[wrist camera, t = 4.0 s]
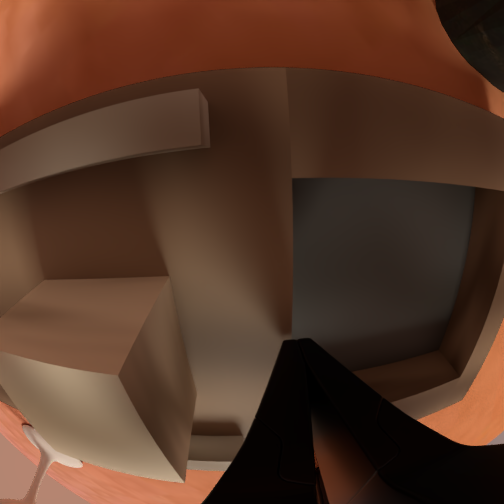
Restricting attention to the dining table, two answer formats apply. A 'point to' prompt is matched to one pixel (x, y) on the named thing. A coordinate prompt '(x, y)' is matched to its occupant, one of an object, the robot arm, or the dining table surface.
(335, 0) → the dining table surface
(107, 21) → the dining table surface
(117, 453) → the block
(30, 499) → the wineglass
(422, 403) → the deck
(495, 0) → the sushi
